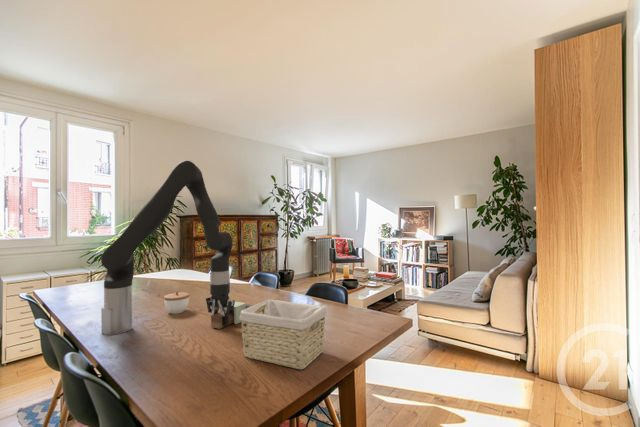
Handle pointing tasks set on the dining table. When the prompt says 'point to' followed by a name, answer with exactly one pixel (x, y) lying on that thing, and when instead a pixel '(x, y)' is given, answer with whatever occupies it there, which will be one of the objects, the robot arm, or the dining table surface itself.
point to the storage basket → (283, 332)
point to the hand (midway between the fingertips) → (220, 324)
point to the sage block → (238, 311)
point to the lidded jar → (176, 302)
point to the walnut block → (220, 320)
